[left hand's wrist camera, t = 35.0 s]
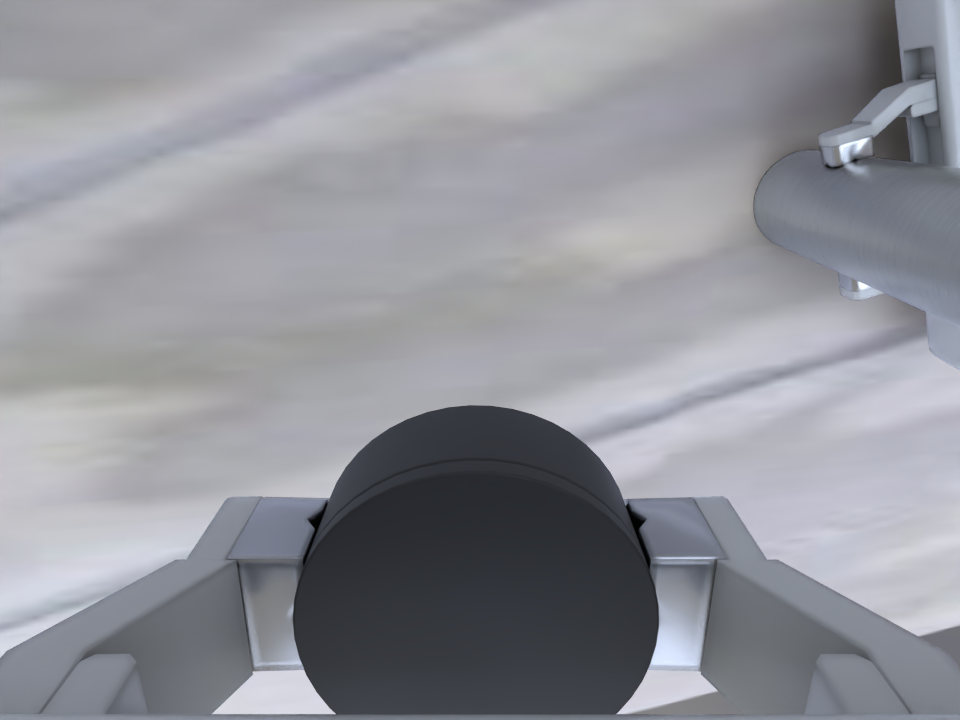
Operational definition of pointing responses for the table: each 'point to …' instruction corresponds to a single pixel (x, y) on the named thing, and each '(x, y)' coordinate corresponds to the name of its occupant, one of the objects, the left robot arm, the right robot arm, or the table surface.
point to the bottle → (871, 224)
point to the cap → (476, 575)
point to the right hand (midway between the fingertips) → (834, 221)
